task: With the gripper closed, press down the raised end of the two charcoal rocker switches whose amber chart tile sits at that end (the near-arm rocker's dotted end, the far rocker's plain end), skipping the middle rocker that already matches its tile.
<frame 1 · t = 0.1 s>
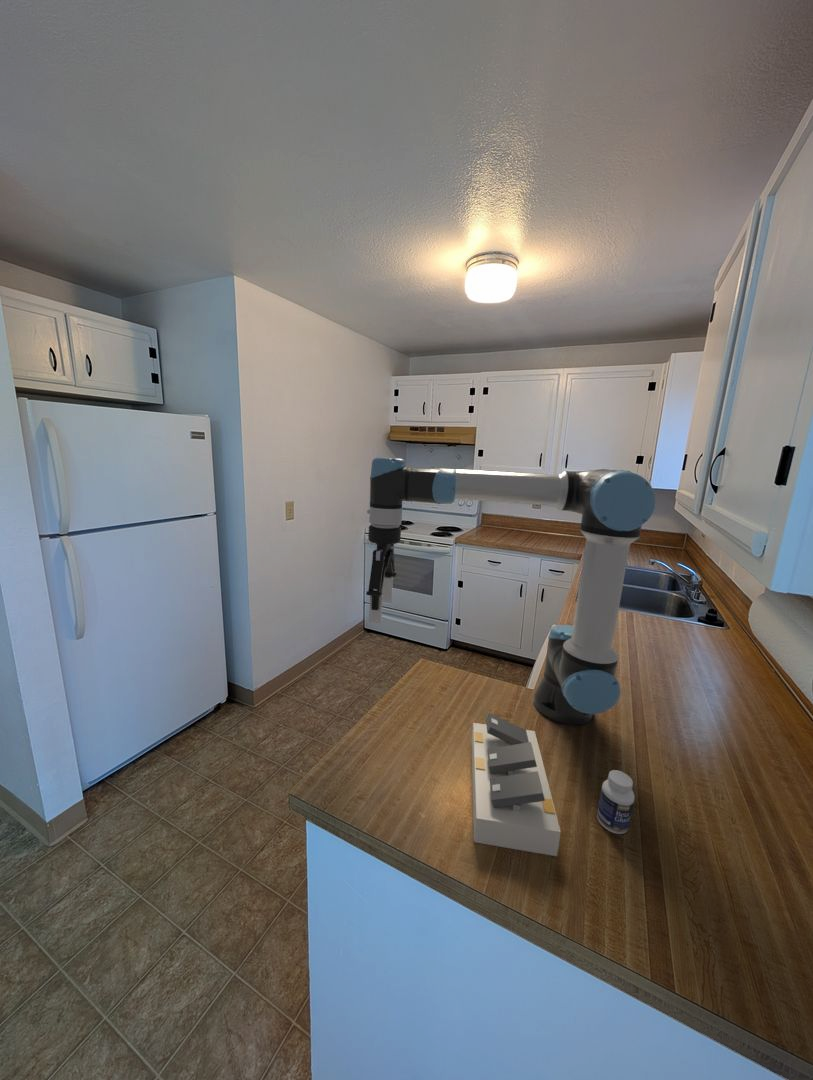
hand: (381, 611, 99), 28 cm above the counter, fingers open, 13 cm apart
switch unit: (507, 789, 83), on the counter
rocker b: (511, 757, 81), point 8 cm above the counter, hinge at 20.0°
rocker c: (516, 788, 74), point 8 cm above the counter, hinge at 20.0°
rocker a: (507, 731, 89), point 8 cm above the counter, hinge at -20.0°
pill bottle: (612, 823, 77), on the counter
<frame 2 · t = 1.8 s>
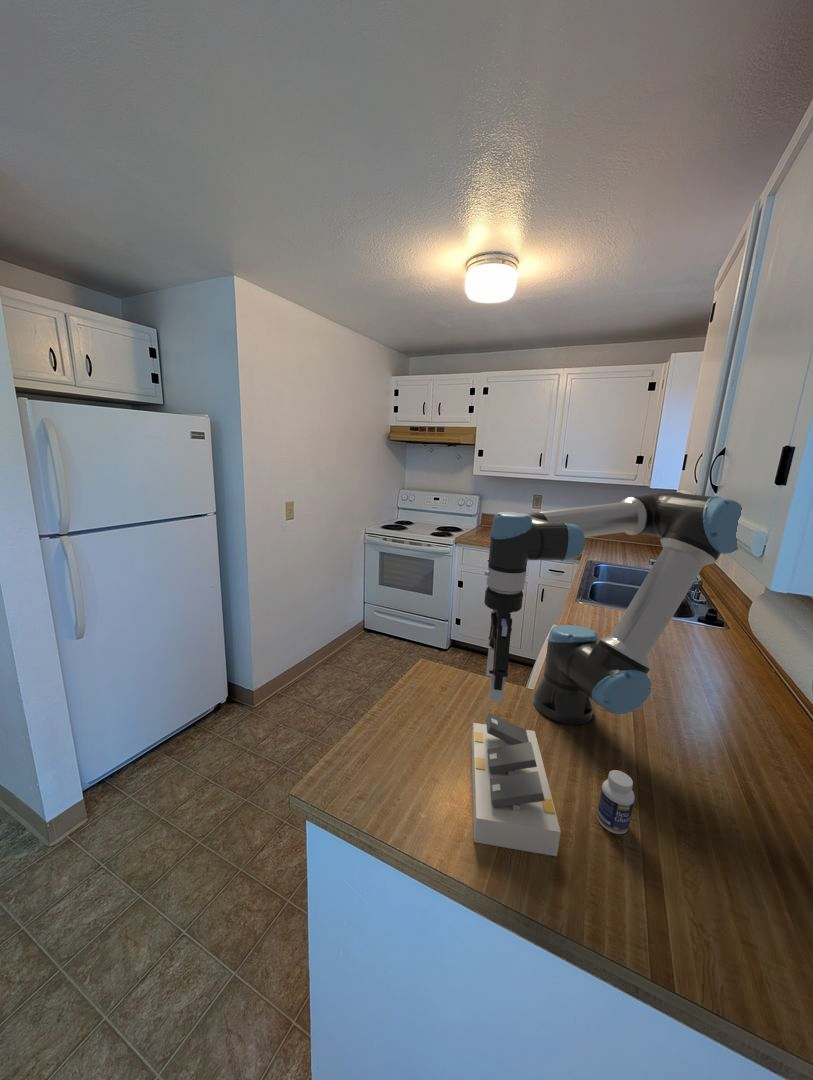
hand: (493, 687, 88), 18 cm above the counter, fingers open, 9 cm apart
nothing on the counter moved.
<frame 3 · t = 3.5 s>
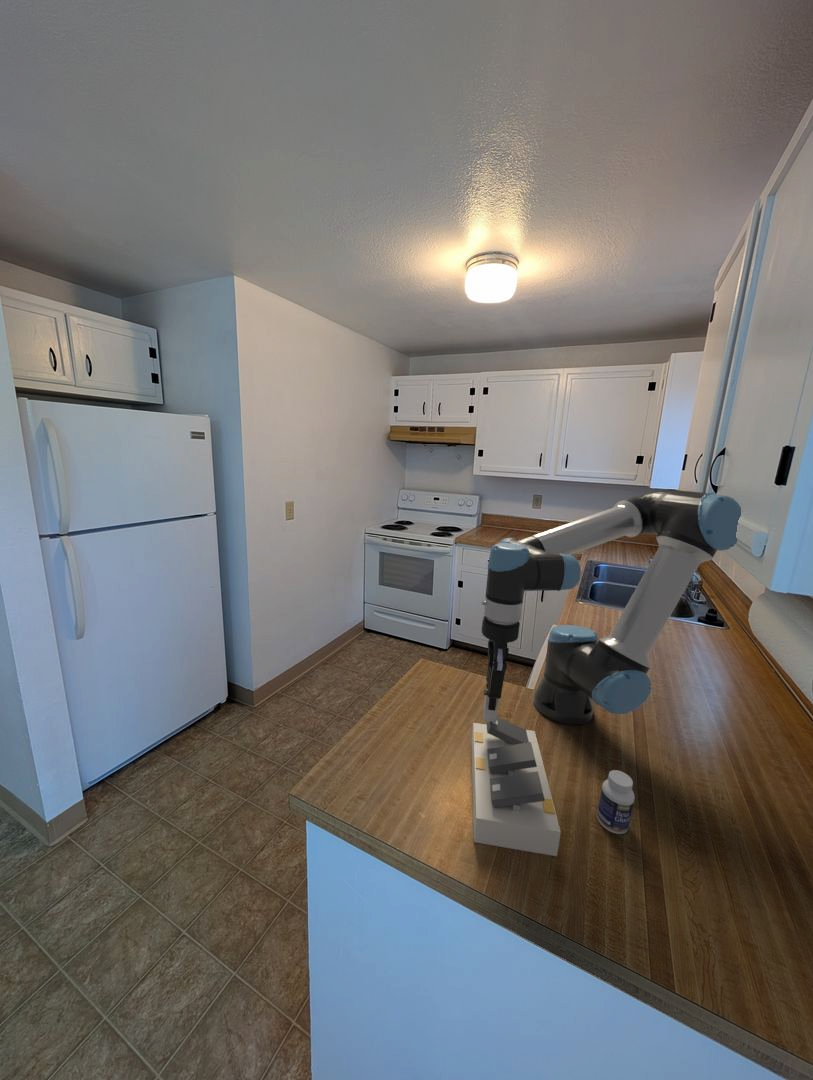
hand: (489, 719, 89), 10 cm above the counter, fingers closed
rocker a: (507, 731, 89), point 8 cm above the counter, hinge at -19.9°, touching gripper
everything else where it was.
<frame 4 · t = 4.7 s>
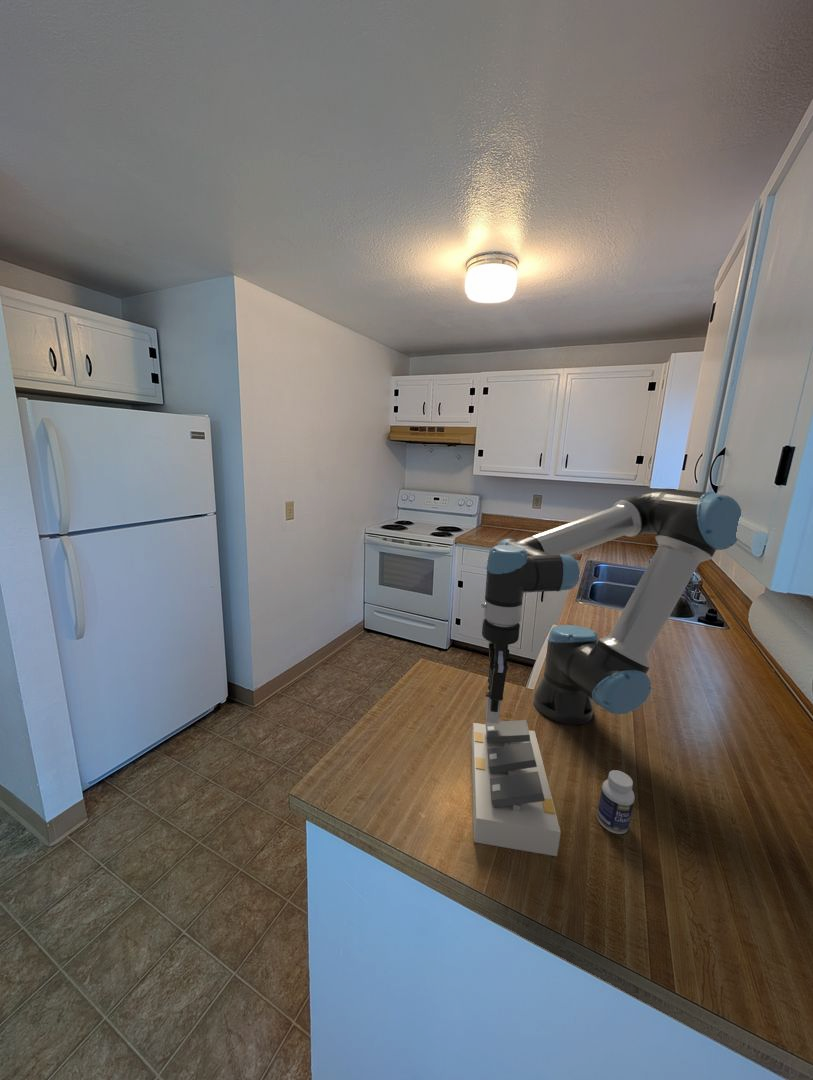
hand: (492, 720, 89), 9 cm above the counter, fingers closed
rocker a: (507, 731, 89), point 8 cm above the counter, hinge at 12.2°
everything else where it was.
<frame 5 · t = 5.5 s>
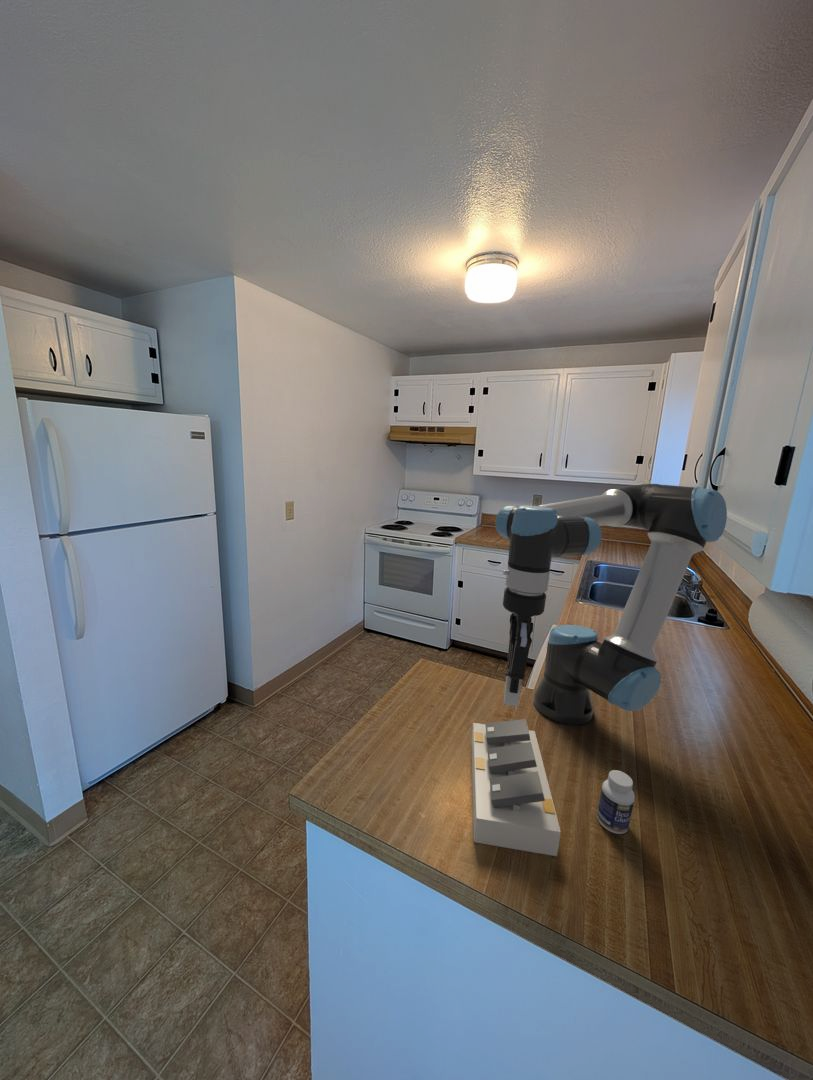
hand: (510, 703, 80), 19 cm above the counter, fingers closed
rocker a: (507, 731, 89), point 8 cm above the counter, hinge at 15.3°
everything else where it was.
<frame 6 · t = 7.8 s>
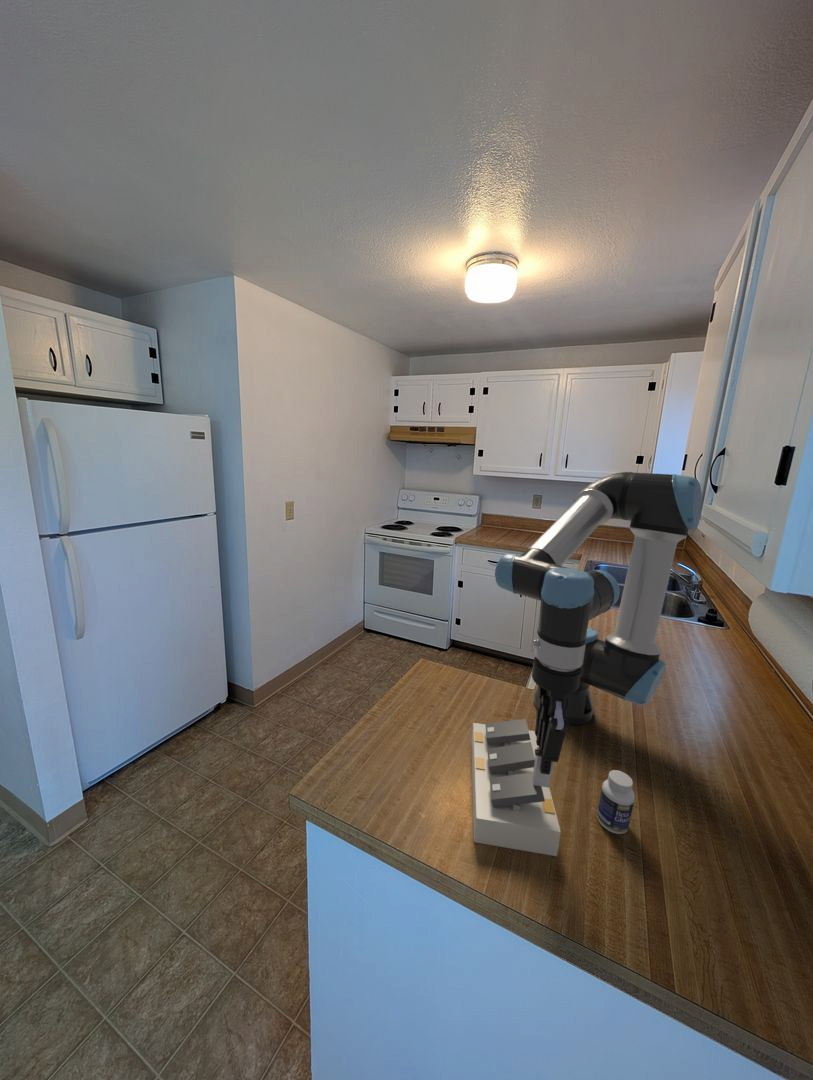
hand: (540, 783, 72), 10 cm above the counter, fingers closed
rocker c: (516, 788, 74), point 8 cm above the counter, hinge at 18.6°, touching gripper
rocker a: (507, 731, 89), point 8 cm above the counter, hinge at 16.2°
everything else where it was.
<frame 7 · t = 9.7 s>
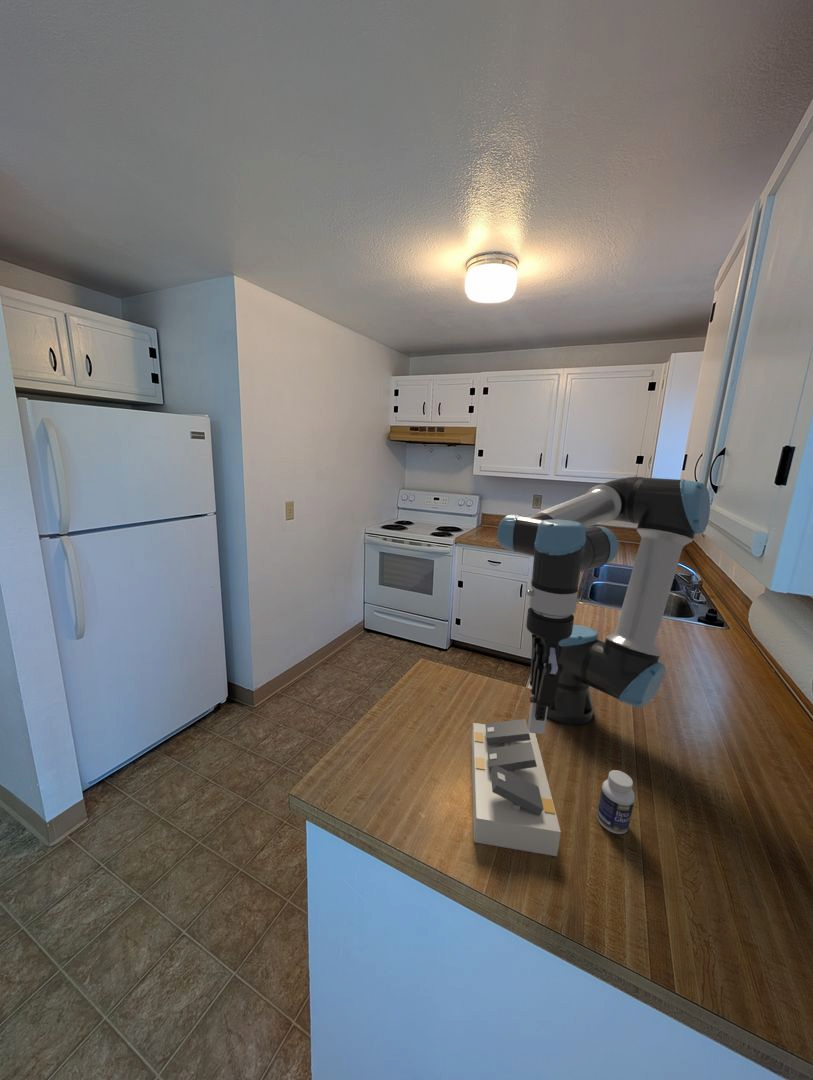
hand: (536, 730, 75), 17 cm above the counter, fingers closed
rocker c: (516, 788, 74), point 8 cm above the counter, hinge at -21.9°
everything else where it was.
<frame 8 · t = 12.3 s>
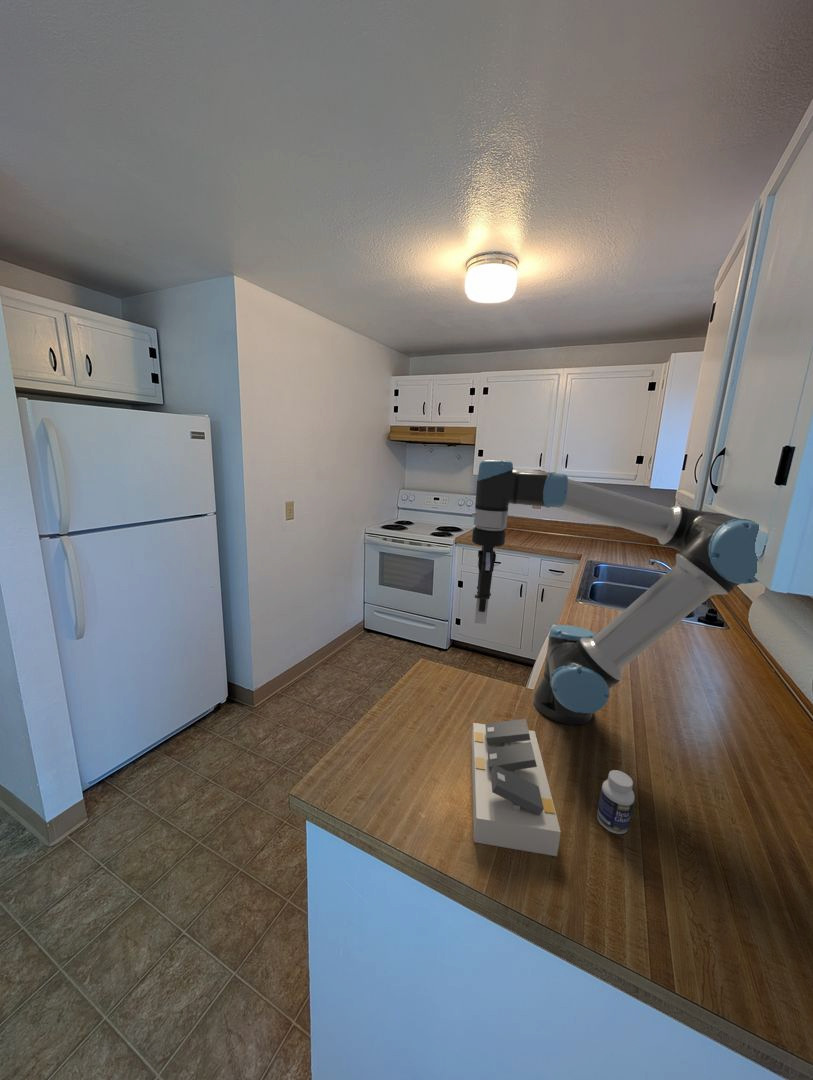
hand: (480, 622, 100), 26 cm above the counter, fingers closed
rocker c: (516, 788, 74), point 8 cm above the counter, hinge at -21.1°
everything else where it was.
at the end: rocker a at +16° (first picture: -20°); rocker b at +20° (first picture: +20°); rocker c at -21° (first picture: +20°) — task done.
